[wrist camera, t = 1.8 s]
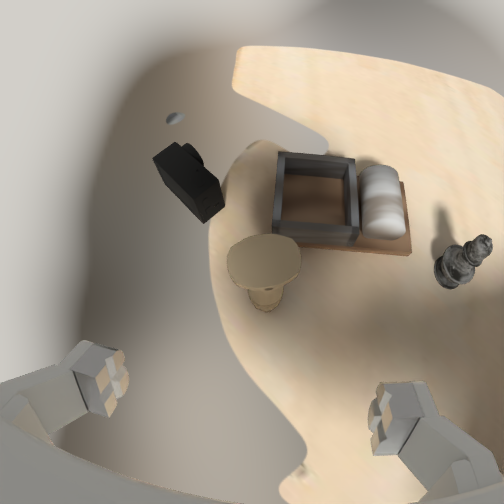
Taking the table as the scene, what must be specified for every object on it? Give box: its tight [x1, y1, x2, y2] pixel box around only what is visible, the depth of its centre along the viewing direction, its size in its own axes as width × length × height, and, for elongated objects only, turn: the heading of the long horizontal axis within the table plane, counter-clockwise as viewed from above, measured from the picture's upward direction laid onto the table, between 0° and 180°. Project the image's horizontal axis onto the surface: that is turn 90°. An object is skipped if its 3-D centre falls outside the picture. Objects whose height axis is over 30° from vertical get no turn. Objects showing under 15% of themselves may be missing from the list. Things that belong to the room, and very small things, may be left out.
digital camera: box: [153, 142, 225, 224], centre depth 45 cm, size 10×5×7 cm, turn 43°
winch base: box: [272, 152, 412, 256], centre depth 43 cm, size 12×20×7 cm, turn 84°
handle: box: [227, 234, 302, 312], centre depth 35 cm, size 5×6×15 cm
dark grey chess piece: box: [434, 234, 493, 289], centre depth 36 cm, size 6×6×12 cm
